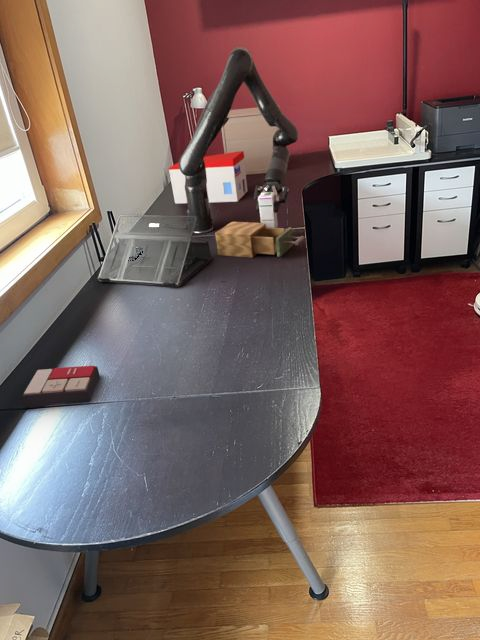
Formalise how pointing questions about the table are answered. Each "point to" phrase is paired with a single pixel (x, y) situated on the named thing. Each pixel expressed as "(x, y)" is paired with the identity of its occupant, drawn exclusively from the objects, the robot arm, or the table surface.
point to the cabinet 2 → (237, 239)
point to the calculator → (61, 386)
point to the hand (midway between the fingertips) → (266, 211)
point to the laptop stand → (155, 253)
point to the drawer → (274, 241)
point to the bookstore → (216, 178)
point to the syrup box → (268, 209)
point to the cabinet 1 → (249, 138)
